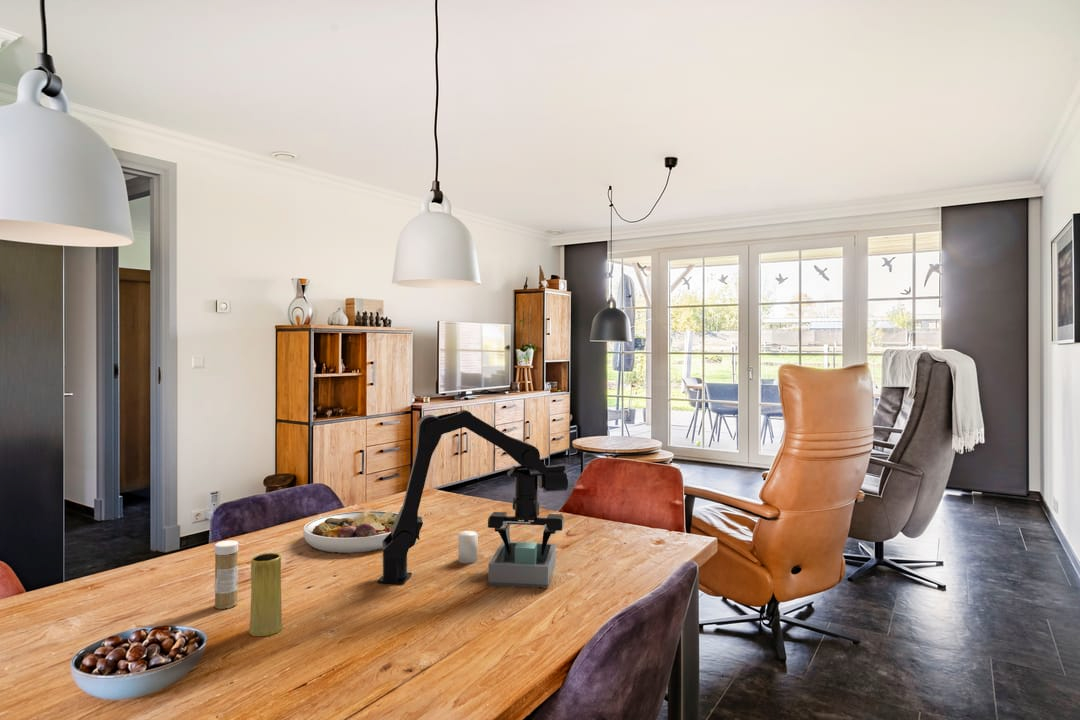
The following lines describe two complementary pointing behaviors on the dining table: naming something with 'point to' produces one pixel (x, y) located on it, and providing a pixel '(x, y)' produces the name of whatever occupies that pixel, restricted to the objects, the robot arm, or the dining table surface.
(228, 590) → the spice jar
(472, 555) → the white cylinder
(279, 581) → the vase
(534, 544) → the teal cube
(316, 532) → the bowl
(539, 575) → the tote
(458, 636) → the dining table surface
